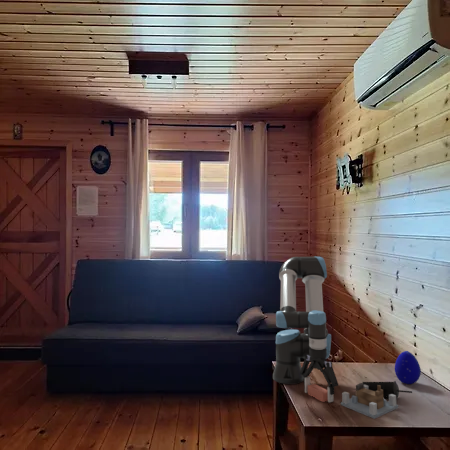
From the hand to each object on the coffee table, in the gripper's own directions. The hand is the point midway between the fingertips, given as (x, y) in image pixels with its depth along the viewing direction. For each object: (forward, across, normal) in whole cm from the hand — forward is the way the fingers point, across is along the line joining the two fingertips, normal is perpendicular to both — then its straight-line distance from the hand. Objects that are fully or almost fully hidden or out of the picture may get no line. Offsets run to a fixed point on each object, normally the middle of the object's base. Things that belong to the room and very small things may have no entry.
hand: (318, 396), depth 178 cm
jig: (0, +19, +9) cm, 21 cm away
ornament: (0, +15, +45) cm, 47 cm away
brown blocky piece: (-1, +19, +9) cm, 21 cm away
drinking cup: (-2, +9, +19) cm, 21 cm away
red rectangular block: (0, 0, 0) cm, 0 cm away
